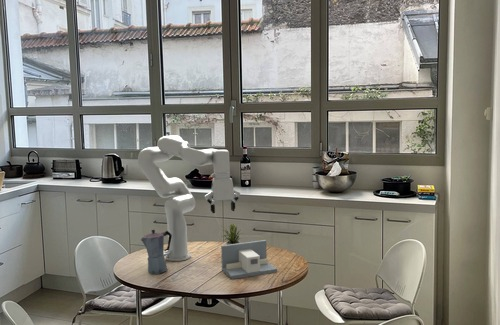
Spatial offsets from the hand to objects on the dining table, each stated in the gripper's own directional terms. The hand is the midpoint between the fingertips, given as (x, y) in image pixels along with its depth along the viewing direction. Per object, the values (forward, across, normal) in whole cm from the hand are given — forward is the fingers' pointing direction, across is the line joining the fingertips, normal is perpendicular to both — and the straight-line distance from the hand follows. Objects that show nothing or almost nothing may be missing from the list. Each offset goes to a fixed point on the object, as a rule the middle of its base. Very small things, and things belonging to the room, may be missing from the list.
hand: (223, 211), depth 223 cm
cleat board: (+26, +8, -11) cm, 30 cm away
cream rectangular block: (+25, +8, -12) cm, 29 cm away
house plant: (+26, +9, +17) cm, 33 cm away
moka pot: (+26, -31, +6) cm, 41 cm away
